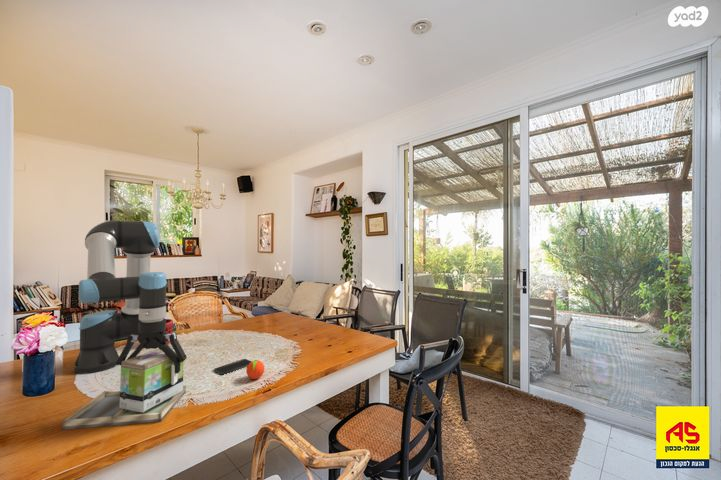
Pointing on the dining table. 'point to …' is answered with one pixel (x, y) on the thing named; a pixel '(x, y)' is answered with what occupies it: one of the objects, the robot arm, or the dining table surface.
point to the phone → (232, 366)
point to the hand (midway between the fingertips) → (152, 384)
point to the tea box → (148, 381)
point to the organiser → (116, 412)
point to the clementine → (255, 369)
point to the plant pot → (169, 328)
